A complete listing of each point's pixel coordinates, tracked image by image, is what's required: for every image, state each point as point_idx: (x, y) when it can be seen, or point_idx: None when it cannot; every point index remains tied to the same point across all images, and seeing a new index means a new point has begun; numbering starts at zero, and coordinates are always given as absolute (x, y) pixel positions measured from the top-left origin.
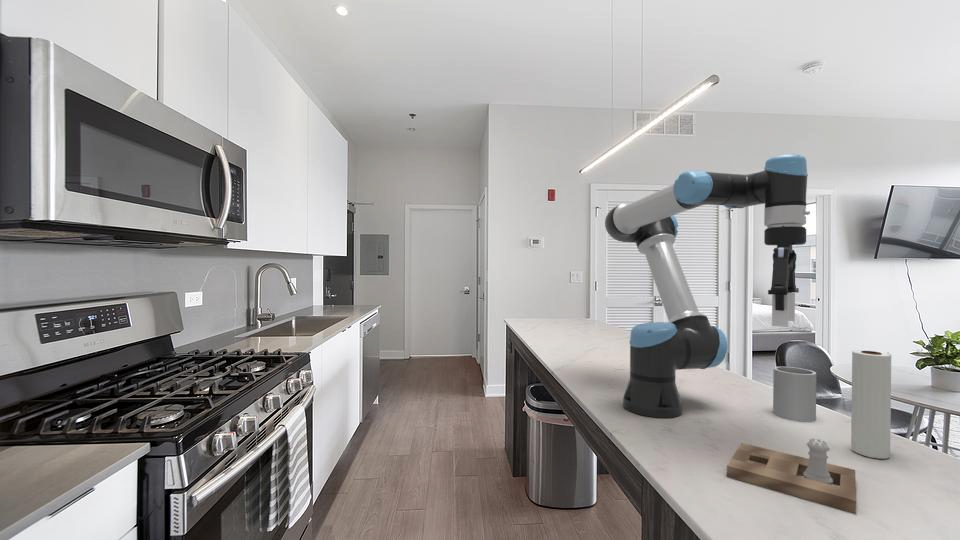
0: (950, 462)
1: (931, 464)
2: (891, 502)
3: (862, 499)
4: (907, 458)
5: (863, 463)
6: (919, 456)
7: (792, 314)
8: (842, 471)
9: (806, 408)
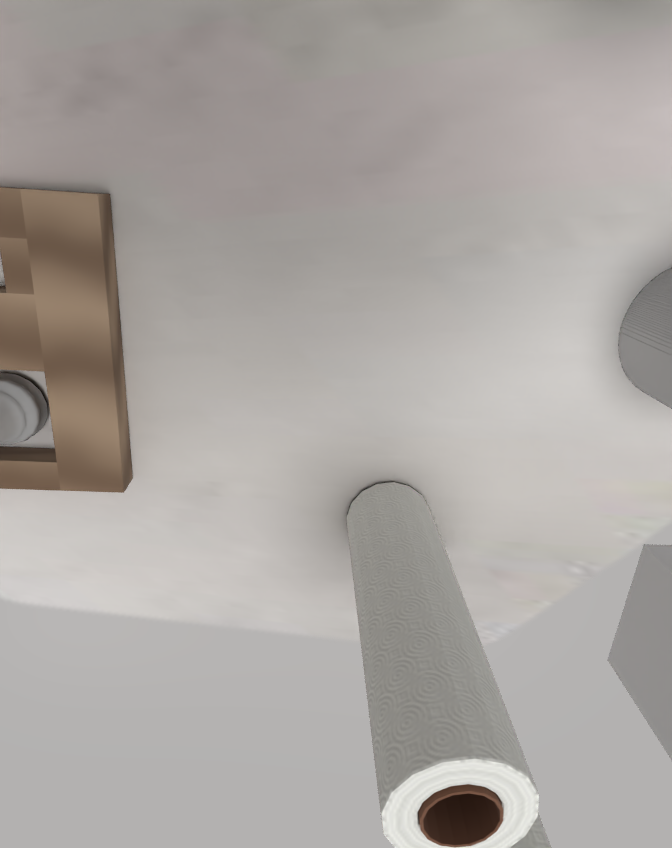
0: None
1: None
2: (56, 531)
3: None
4: None
5: (289, 499)
6: None
7: (652, 712)
8: (82, 466)
9: (654, 388)
